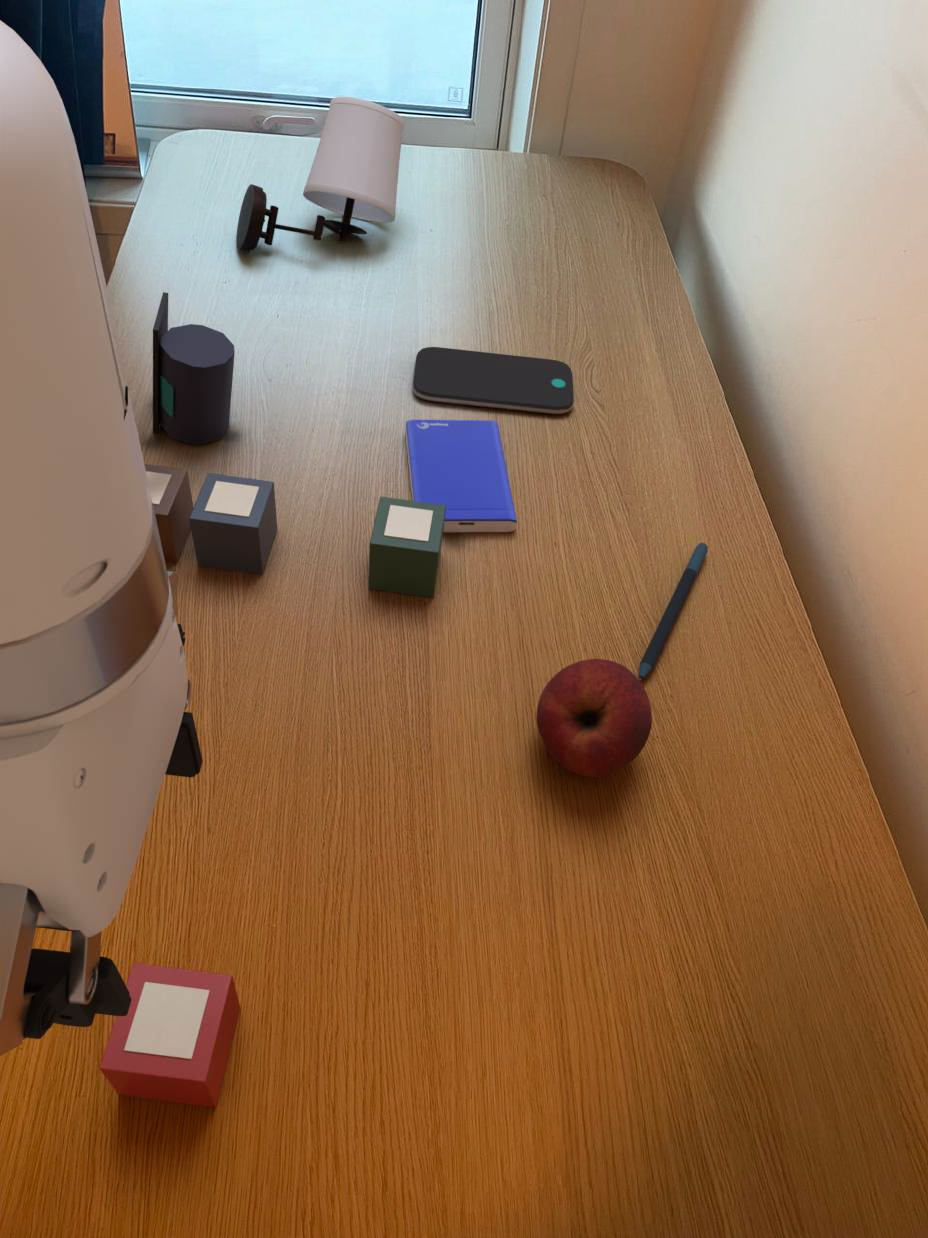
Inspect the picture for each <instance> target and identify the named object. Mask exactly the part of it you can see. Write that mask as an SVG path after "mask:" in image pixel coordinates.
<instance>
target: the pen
mask: <svg viewBox="0 0 928 1238" xmlns="http://www.w3.org/2000/svg"><path fill="white" fill-rule="evenodd" d="M708 549H709V545H708V544H706V543H705V542H699V543H698V544H697V545H696V546H695V548H694V550H693V553H692V554H691V556H690V559H689V560H688V563H687V564H686V567H685V569H684V570H683V573H682V575H681V577H680V579H679V582H678V583H677V586H676V587H675V590H674V592H673V594H672V596H671V598H670V599H669V602H668V604H667V606H666V608H665V610H664V612H663V615H662V617H661V618H660V621H659V623H658V625H657V626H656V629H655V631H654V633H653V635H652V637H651V639H650V642H649V643H648V646H647V648H646V650H645V652H644V654H643V656H642V658H641V660H640V663H639V669H638V670H639V671H638V672H639V673H638V680H639V681H640V682H641V681H642V680H644V679H645V678H646V677H647V676H648V675H649V674H650V673H651V672H652V671H653V670H654V668H655V666H656V663H657V661H658V660H659V657H660V656H661V653H662V651H663V648H664V647H665V644H666V643H667V640H668V638H669V635H670V633H671V632H672V629H673V627H674V625H675V623H676V621H677V618H678V616H679V615H680V612H681V610H682V608H683V605H684V603H685V601H686V599H687V597H688V595H689V593H690V592H691V591H690V590H691V589H692V586H693V584H694V582H695V581H696V578H697V575H698V574H699V571H700V569H701V567H702V565H703V563H704V560H705V558H706V556H707V554H708V551H709V550H708Z"/></svg>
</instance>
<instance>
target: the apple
mask: <svg viewBox="0 0 928 1238" xmlns="http://www.w3.org/2000/svg"><path fill="white" fill-rule="evenodd" d="M536 725H537V729H538V730H537V731H538V733H539V736H540V738H541V741H542V743H543V744H544V746H545V748H546V750H547V751H548V752H549V754H550V755H551V756H552V757H553V758H554V759H555V760H556V761H557V762H558V763H559V764H560V765H562V767H564V768H566V769H567V770H569V771H570V772H571V773H572V772H573V773H574V774H578V775H580V776H583V777H584V776H585V777H589V778H599V777H606V776H609V775H612V774H615V773H617V772H619V771H621V770H622V769H624V768H625V767H626V766H629V764H630V763H632V762H633V761H634V760H635V759H636V758H637V757H638V756H639V754H640V753H641V752H642V750H643V749H644V747H645V745H646V744H647V741H648V739H649V737H650V733H651V730H652V726H653V713H652V707H651V702H650V698H649V694H648V693H647V691H646V689H645V688H644V685H643V684H642V683H641V681H640V680H639V678H638V677H637V676H636V675H635V674H634V673H633V672H632V670H630V669H629V668H628V667H626V666H625V665H623V664H621V663H619V662H617V661H613V660H609V659H606V658H605V659H603V658H589V659H588V658H587V659H583V660H580V661H576V662H573V663H570V664H569V665H566V666H565V667H563V668H562V669H560V670H559V671H558V672H557V673H556V674H555V675H553V677H551V679H550V680H549V681H548V682H547V684H546V685H545V686H544V688H543V689H542V692H541V694H540V696H539V699H538V702H537V708H536Z"/></svg>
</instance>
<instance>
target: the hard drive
mask: <svg viewBox="0 0 928 1238" xmlns="http://www.w3.org/2000/svg"><path fill="white" fill-rule="evenodd" d="M498 423H499V422H498V421H496V420H491V419H490V420H489V419H487V420H486V419H409V420H406V421H405V429H404V431H405V432H404V433H405V442H406V443H405V444H406V452H407V461H408V472H409V481H410V482H409V483H410V491H411V492H410V493H411V501H417V502H424V503H431V504H439V505H445V506H446V512H445V521H444V529H443V533H510V532H514V531H516V528H517V523H518V520H517V515H516V510H515V509H516V508H515V504H514V499H513V493H512V489H511V485H510V479H509V473H508V469H507V463H506V459H505V455H504V454H505V453H504V448H503V442H502V439H501V438H502V437H501V433H500V428H499V424H498Z"/></svg>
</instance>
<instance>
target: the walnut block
mask: <svg viewBox="0 0 928 1238" xmlns="http://www.w3.org/2000/svg"><path fill="white" fill-rule="evenodd" d="M144 465H145V470H146V474H147V479H148V484H149V488H150V493H151V498H152V503H153V507H154V512H155V516H156V521H157V526H158V530H159V535H160V540H161V545H162V549H163V554H164V559H165V562H168V563H176V564H177V563H178V561H179V559H180V557H181V555H182V551H183V549H184V547H185V544H186V542H187V539H188V536H189V534H190V532H191V526H190V520H189V518H190V515H191V513H192V510H193V508H194V503H193V497H192V491H191V484H190V479H189V473H188V470H187V469H183V468H176V467H168V466H161V465H154V464H147V463H144Z"/></svg>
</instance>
